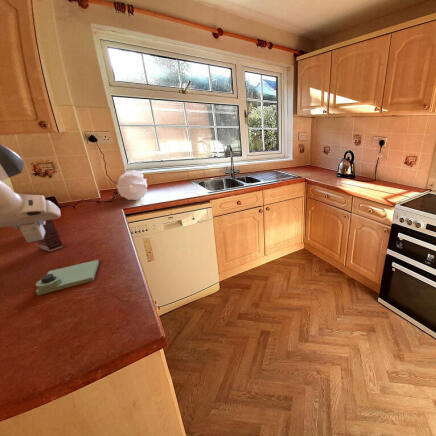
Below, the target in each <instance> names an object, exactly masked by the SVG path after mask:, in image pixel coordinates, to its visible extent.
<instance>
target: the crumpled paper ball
mask: <svg viewBox="0 0 436 436" xmlns="http://www.w3.org/2000/svg"><path fill="white" fill-rule="evenodd" d="M144 177H145V176H144V174H143V173H142V172H141V171H137V170H135V169H132V170H126V171H125V172H123V174H121V175H120V176H119V177H118V180H117V183H116V186H115V188H117V192H118V194H119V195H120V197H121V198H124V199H126V200H128V201H131V200H133V201H134V200H135V201H137V200H139V199H141V198H144V197H145V194H146V193H147V192H148V189H147V188H148V183H147V178H144Z"/></svg>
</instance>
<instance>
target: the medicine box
mask: <svg viewBox="0 0 436 436" xmlns="http://www.w3.org/2000/svg"><path fill="white" fill-rule="evenodd" d="M19 227H20V229H19V230H20V231H21V233H22V236H23V238H24V239H25V241H26V243H28V244H29V243H33V242H38V240H42V239H43V238H44V235H45V230H44V227H43V225H39V224H38V222H32V223H26V224H20V225H19Z"/></svg>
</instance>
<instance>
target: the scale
mask: <svg viewBox="0 0 436 436" xmlns="http://www.w3.org/2000/svg"><path fill="white" fill-rule="evenodd" d="M99 265H100V262H99V259H95V260H91V261H86V262H82V263H77V264H74V265H70V266H65V267H61V268H56V269H52V270H49V271H48V272H47V273H46V275H48V274H53V275H54V277H55V280H54V281H52V282H50V283H46V284H43V283H42V281H41V279H40V280H38V281H36V283H35V286H36V288H37V289H36V290H35V294H36V295H37V296H42V295H44V294H49V293H53V292H56V291H60V290H65V289H68V288H71V287H76V286H80V285H83V284H87V283H91V282H93V281H94V280H95V277H96V274H97V272H98V271H97V270H98V267H99Z"/></svg>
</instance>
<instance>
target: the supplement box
mask: <svg viewBox="0 0 436 436" xmlns="http://www.w3.org/2000/svg"><path fill="white" fill-rule="evenodd" d="M45 222H46V224H45V225H43V227H44V230H45V235H44V238H43V239H42V240H38V241H37V243H38V245H39V248H40V249H42V250H45V251H48V252H54V251H57V250H60V249H62V248H64V244H63V242H62V240H61V238H60V235H59V233H58V231H57V228H56V226H55V223H54V221H53V219H52V220H45Z"/></svg>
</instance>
